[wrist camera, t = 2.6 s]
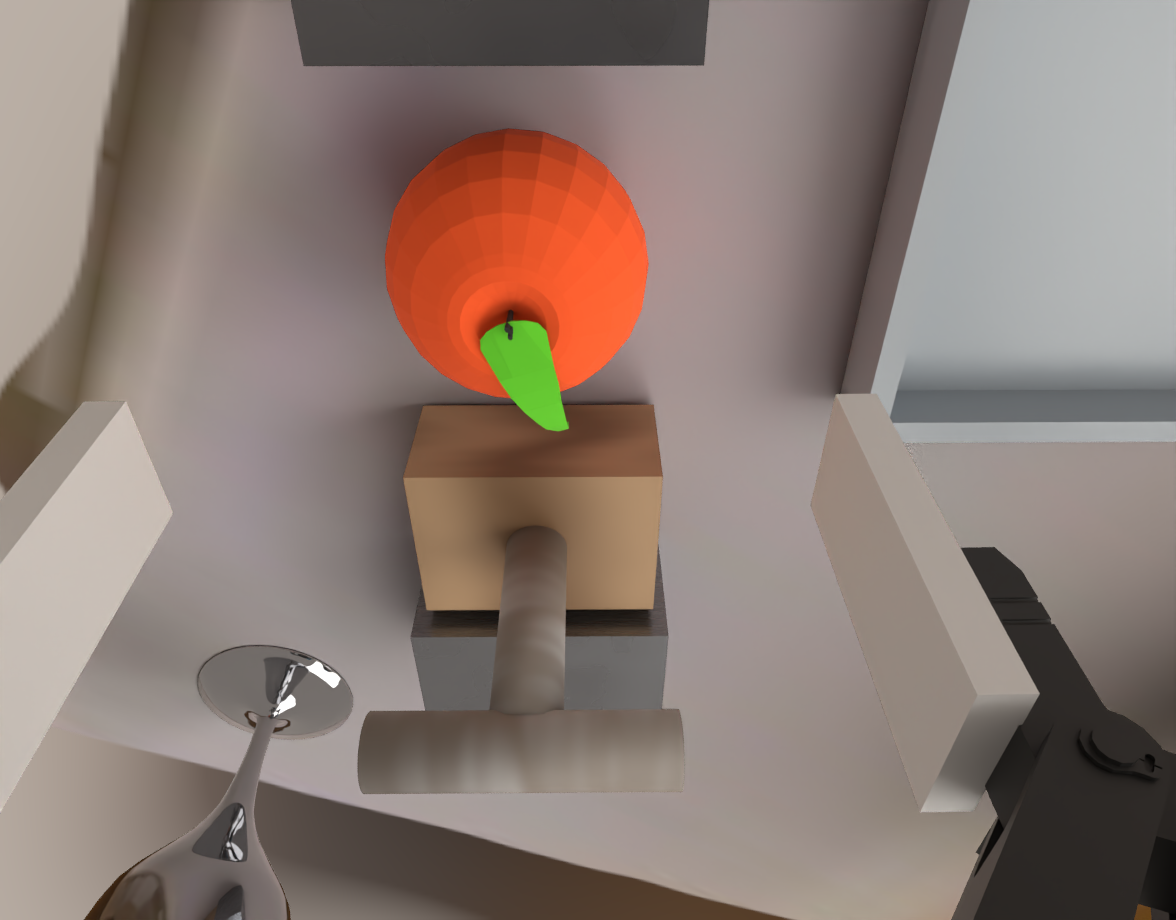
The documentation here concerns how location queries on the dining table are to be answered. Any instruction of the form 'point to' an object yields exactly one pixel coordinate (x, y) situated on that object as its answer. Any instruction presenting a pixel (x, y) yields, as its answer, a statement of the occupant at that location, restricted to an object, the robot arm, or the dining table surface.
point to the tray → (1029, 229)
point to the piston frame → (520, 38)
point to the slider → (530, 599)
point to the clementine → (517, 267)
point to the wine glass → (234, 795)
